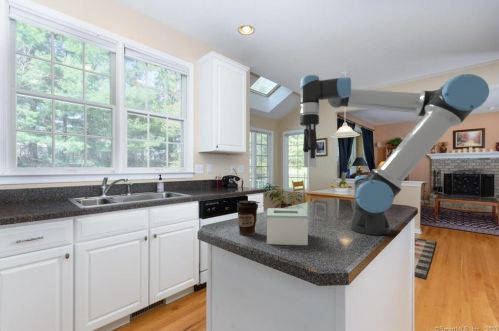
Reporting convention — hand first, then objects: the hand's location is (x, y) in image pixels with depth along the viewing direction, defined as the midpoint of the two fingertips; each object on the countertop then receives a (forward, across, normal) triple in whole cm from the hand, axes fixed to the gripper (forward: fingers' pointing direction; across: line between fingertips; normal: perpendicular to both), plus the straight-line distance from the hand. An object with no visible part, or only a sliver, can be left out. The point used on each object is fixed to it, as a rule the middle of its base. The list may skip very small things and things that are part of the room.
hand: (309, 167), depth 98 cm
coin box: (+27, +9, -10) cm, 30 cm away
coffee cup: (+27, +4, -25) cm, 37 cm away
